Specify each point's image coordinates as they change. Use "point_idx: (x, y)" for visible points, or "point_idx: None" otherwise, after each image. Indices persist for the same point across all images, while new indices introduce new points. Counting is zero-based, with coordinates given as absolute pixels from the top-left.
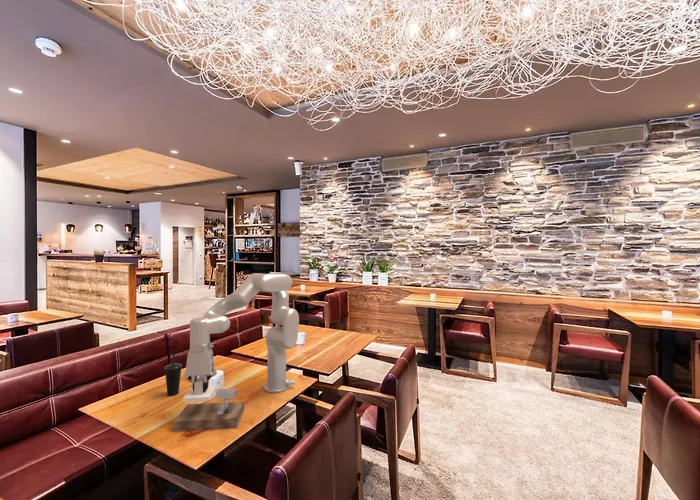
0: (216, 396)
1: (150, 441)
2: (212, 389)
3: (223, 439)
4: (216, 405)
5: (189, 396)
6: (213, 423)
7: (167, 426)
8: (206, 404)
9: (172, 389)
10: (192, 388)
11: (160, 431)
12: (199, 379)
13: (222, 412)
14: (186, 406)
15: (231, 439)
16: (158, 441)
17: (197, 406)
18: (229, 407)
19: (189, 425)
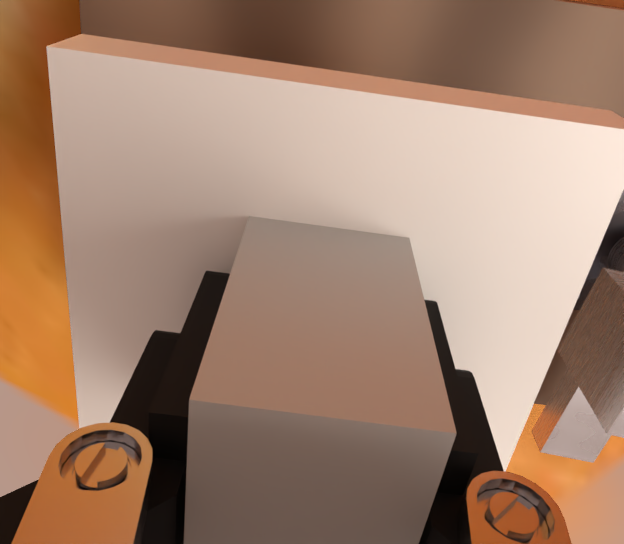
0: (581, 372)
1: (8, 382)
2: (545, 293)
3: (534, 466)
4: (517, 91)
5: None
6: None
7: (27, 197)
8: (373, 22)
9: None
10: (83, 125)
11: (7, 267)
12: (259, 516)
13: (591, 453)
14: (93, 18)
15: (588, 477)
16: (70, 394)
17: (254, 56)
18: None
19: None
